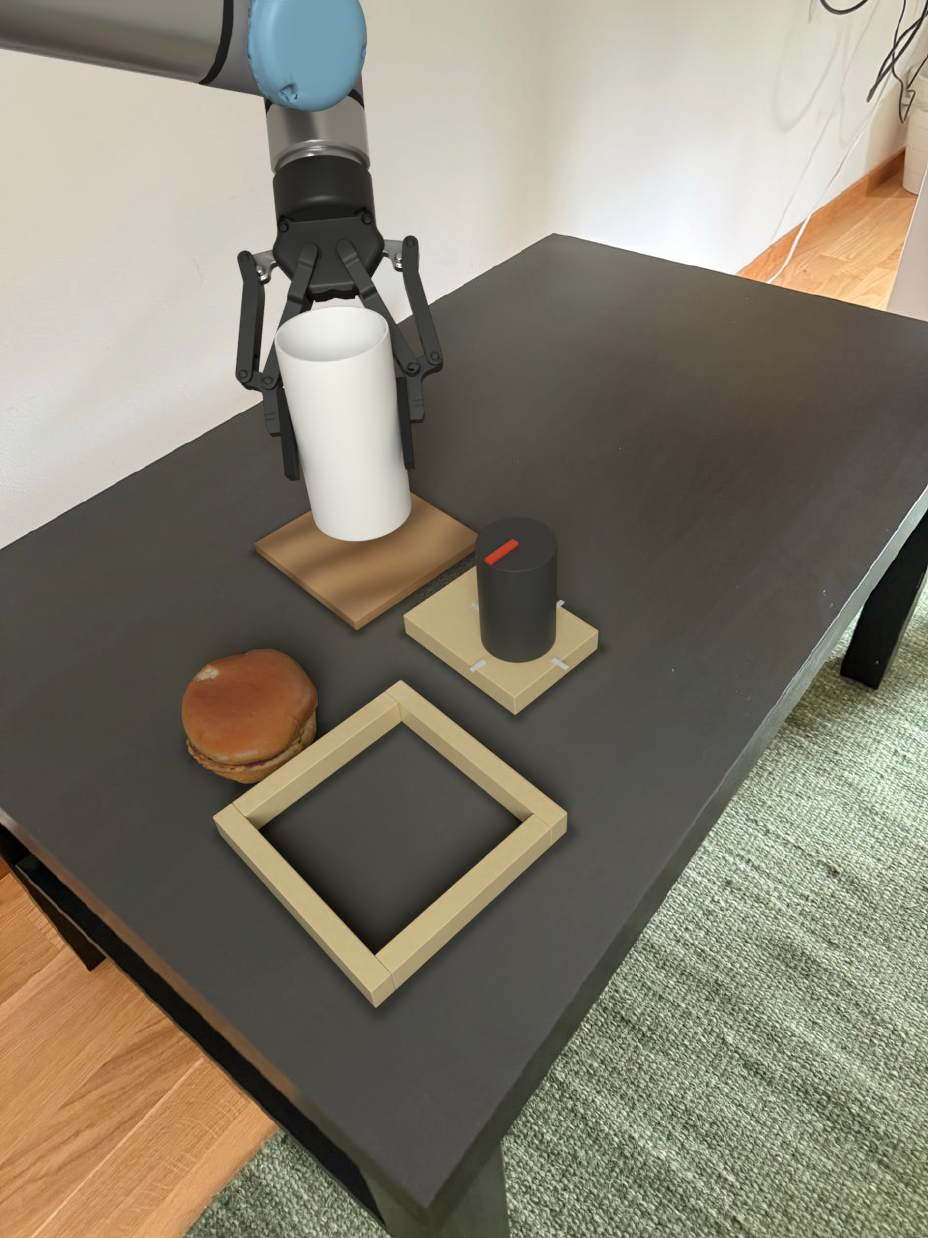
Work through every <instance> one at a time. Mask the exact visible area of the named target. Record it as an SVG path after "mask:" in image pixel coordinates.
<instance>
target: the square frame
mask: <svg viewBox="0 0 928 1238" xmlns="http://www.w3.org/2000/svg"><path fill="white" fill-rule="evenodd" d="M400 723H403V724H404V725H405V726H407V727H408V728H409V729H410V730H412V731H413V732H414V733H415V734H417V736H419V737H420V738H421V739H422V740H424V741H425V742H426V743H427V744H429V745H430V747H432V748H433V749H435V751H437V752H438V753H439V754H440V755H442V757H444V758H445V759H446V760H448V761H449V762H450V763H451V764H452V765H453V766H455V767H456V768H457V769H458V770H460V771H461V772H462V773H463V774H465V776H466V777H468V779H470V780H472V781H473V782H474V783H475V784H476V785H477V786H479V787H480V788H481V789H482V790H483V791H485V792H486V793H487V794H488V795H489V796H491V798H493V799H495V801H496V802H498V803H499V804H500V805H502V807H504V808H505V809H506V810H508V811H509V812H510V813H511V814H512V815H513V816H514V817H516V818H517V819H518V820H519V821H521V822H522V823H520V825H519V826H518V827H517V828H516V829H515V830H513V831H512V832H511V833H510V834H509V835H508V836H507V837H506V838H505V839H503V840H502V841H501V842H500V843H499V844H497V845H496V846H495V847H494V848H493V849H492V850H491V851H490V852H489V853H488V854H486V855H485V856H484V857H483V858H482V859H481V860H480V861H478V863H476V864H475V865H474V866H473V867H472V868H471V869H470V870H469V871H467V873H465V874H464V875H463V876H462V877H460V879H458V880H457V881H456V882H455V883H454V884H452V886H451V887H449V888H448V889H447V890H446V891H445V892H444V893H443V894H441V896H440V897H438V898H437V899H436V900H435V901H434V902H432V904H430V906H428V907H427V908H426V909H424V911H423V912H421V914H419V915H418V916H417V917H416V918H414V920H413V921H412V922H410V923H409V924H408V925H407V926H405V927H404V929H402V930H401V931H400V932H399V933H398V934H396V936H395V937H393V938H392V939H391V940H390V941H389V942H388V943H387V944H386V945H385V946H383V947H382V948H381V949H380V950H378V952H377V953H376V954H374V953H373V952H372V951H371V950H370V949H369V948H368V947H367V946H366V945H365V944H364V942H362V940H360V938H359V937H358V936H357V935H356V934H355V933H354V932H353V931H352V930H351V929H350V928H349V926H347V924H346V923H345V922H344V921H343V920H342V919H341V918H340V917H339V915H337V913H336V912H335V911H333V909H332V908H331V907H330V906H329V905H328V904H327V903H326V902H325V901H324V900H323V899H322V898H321V896H319V894H317V892H316V891H315V890H314V889H313V888H312V887H311V886H310V884H308V882H306V880H305V879H303V877H302V876H301V875H300V874H299V873H298V872H297V871H296V870H295V869H294V868H293V866H291V864H290V863H289V862H288V861H287V860H286V858H284V857H283V856H282V854H281V853H279V851H278V850H277V849H276V848H275V847H274V846H273V845H272V844H271V843H270V842H269V841H268V840H267V839H266V838H265V837H264V836H263V834H261V833H260V831H259V830H260V829H261V828H262V827H264V826H265V825H266V824H268V823H269V822H271V821H272V820H273V819H274V818H276V817H277V816H279V815H280V814H281V813H283V812H284V811H285V810H286V809H288V808H289V807H290V806H291V805H294V803H296V802H297V801H298V800H299V799H301V798H302V797H303V796H305V795H306V794H308V793H309V792H310V791H311V790H313V789H314V788H315V787H317V786H318V785H320V784H322V782H323V781H325V780H326V779H327V778H329V777H330V776H332V775H333V774H334V773H335V772H336V771H338V770H339V769H341V768H342V767H344V766H345V765H346V764H347V763H348V762H350V761H351V760H352V759H354V758H355V757H357V756H358V755H359V754H360V753H363V751H364V750H366V749H367V748H368V747H369V746H371V745H372V744H374V743H376V741H378V740H380V738H382V737H383V736H384V735H386V734H387V733H388V732H390V731H391V730H392V729H394V728H395V727H397V726H398V725H399V724H400ZM212 819H213V822H214V824H215V825H216V828H217V830H218V833H219V835H220V836H221V837H222V838H223V839H224V841H225V842H226V843H227V844H228V845H229V846H230V847H231V848H232V850H233V851H234V852H235V853H236V854H237V855H238V856H239V857H240V858H241V859H242V861H243V863H245V864H246V865H247V866H248V867H249V869H250V870H251V871H252V872H253V873H254V874H255V876H256V877H258V879H259V880H260V881H261V882H262V883H263V884H264V885H265V887H266V888H267V889H268V890H269V891H270V892H271V893H272V894H273V895H274V897H275V898H276V899H277V900H278V901H279V902H280V904H282V906H283V907H284V908H285V909H286V910H287V911H288V912H289V913H290V915H292V917H293V918H294V919H295V920H296V921H297V922H298V924H300V926H301V927H302V928H303V929H304V930H305V931H306V932H307V934H309V936H310V937H311V938H312V939H313V940H314V941H315V942H316V943H317V944H318V946H319V947H320V948H321V949H322V950H323V952H324V953H325V954H327V956H328V957H329V958H330V959H331V961H332V962H333V963H334V964H335V965H336V966H337V967H338V968H339V969H340V970H341V971H342V972H343V973H344V975H345V976H346V977H347V978H348V979H349V981H351V983H352V984H353V985H354V986H355V987H356V988H357V989H358V990H359V992H361V994H362V995H363V996H364V997H365V998H366V999H367V1001H369V1003H370V1004H371V1005H372V1006H373V1007H374V1008H378V1007H379V1006H380V1005H381V1004H382V1003H384V1001H385V1000H386V999H388V997H390V996H391V994H393V993H394V992H395V991H396V990H398V989H399V988H400V987H401V985H403V984H404V983H405V982H406V981H407V980H409V978H411V976H412V975H414V974H415V973H416V972H417V971H418V970H419V969H420V968H421V967H422V966H423V965H424V964H426V963H427V961H429V960H430V959H431V958H432V957H433V956H434V955H435V954H437V953H438V951H440V950H441V949H442V948H443V947H444V946H445V945H446V944H447V943H448V942H449V941H450V940H451V939H452V938H454V936H456V935H457V934H458V933H459V932H460V931H461V930H462V929H463V928H464V927H465V926H466V925H468V923H470V922H471V921H472V920H473V919H474V918H475V917H476V916H477V915H478V914H480V913H481V911H483V910H484V909H485V908H486V907H487V906H488V905H489V904H490V903H491V902H492V901H494V900H495V899H496V898H497V897H498V896H499V895H500V894H501V893H503V891H504V890H506V888H507V887H509V885H511V884H512V883H513V882H514V881H515V880H516V879H518V877H519V876H520V875H522V873H524V872H525V871H526V870H527V869H528V868H529V867H530V866H532V864H534V862H535V861H536V860H538V859H539V858H540V857H541V856H542V855H543V854H544V853H545V852H546V851H548V849H550V847H551V846H553V845H554V844H556V842H557V841H558V840H559V839H560V838H561V837H563V836H564V835H565V833H567V832H568V830H567V829H568V812H567V811H566V810H565V809H564V808H563V807H561V806H560V805H559V804H557V803H556V802H554V800H552V799H551V798H550V797H548V796H547V795H546V794H545V793H544V792H542V791H541V790H539V788H537V787H536V786H535V785H534V784H532V783H531V782H530V781H528V780H527V779H526V778H525V777H523V776H522V775H521V774H520V773H519V772H517V771H516V770H514V768H512V767H511V766H510V765H508V764H507V763H506V762H505V761H503V760H502V759H501V758H500V757H499V756H497V755H496V754H495V753H494V752H492V751H491V750H489V749H488V748H487V747H486V746H485V745H483V744H482V743H481V742H480V741H479V740H478V739H476V738H475V737H473V736H472V735H471V734H469V733H468V732H467V731H466V730H464V729H463V728H462V727H461V726H460V725H459V724H457V723H456V722H455V721H453V720H452V719H451V718H450V717H448V716H447V715H445V713H443V712H442V711H441V710H440V709H438V708H437V707H436V706H435V705H434V704H432V703H431V702H430V701H428V700H427V699H426V698H424V697H423V696H422V695H421V694H419V692H417V691H416V690H415V689H413V688H412V687H411V686H410V685H408V684H407V683H406V682H405V681H403V680H402V679H400V680H398V681H397V682H395V683H394V684H393V685H392V686H390V687H388V688H387V689H386V690H385V691H383V692H381V693H380V694H379V695H378V696H376V697H375V698H374V699H372V700H371V701H370V702H368V703H367V704H365V705H364V706H363V707H362V708H360V709H358V710H357V711H356V712H355V713H353V714H351V715H350V716H349V717H347V718H346V719H345V720H343V721H342V722H341V723H339V724H338V725H337V726H335V727H334V728H332V729H331V730H330V731H329V732H327V733H326V734H324V735H322V737H320V738H319V739H317V740H316V741H315V742H312V744H311V745H310V746H309V747H308V748H306V749H305V750H304V751H302V752H301V753H300V754H298V755H297V756H295V757H294V758H293V759H291V760H290V761H289V762H287V763H286V764H284V765H283V766H282V767H280V768H279V769H278V770H276V771H275V772H273V773H272V774H271V775H269V776H268V777H267V778H265V779H264V780H262V781H259V782H257V784H255V785H254V786H253V787H251V788H250V789H249V790H247V791H246V792H245V793H243V794H242V795H240V796H239V797H238V798H236V799H235V800H234V801H232V803H229V804H228V805H226V807H224V808H222V809H221V810H220V811H218V812H217V813H216V814H214V815H213V816H212Z"/></svg>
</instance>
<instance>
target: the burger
mask: <svg viewBox="0 0 928 1238" xmlns="http://www.w3.org/2000/svg"><path fill="white" fill-rule="evenodd" d="M318 704H319V697H318V690H317V688H316V686H315V684H314V683H313V681H312V680H311V678H310V676H309V675H308V674H307V672H306V671H305V670H304V668H303V667H302V666H301V665H300V664H299V663H298V662H297V661H296V659H293V658H292V657H291V656H290V655H288V654H286V653H284V652H282V651H279V650H276V649H273V648H258V649H252V650H248V651H247V652H246V653H242V654H241V653H240V654H233V655H232V654H231V655H228V656H225V657H220V658H217V659H215V660H212V661H211V662H209V663H207V664H206V665H205V666H203V667H202V668H201V670H200V671H199V672H197V673H196V674H195V676H194V677H193V678H192V679H191V681H189V683H188V685H187V687H186V690H185V691H184V694H183V696H182V701H181V721H182V726H183V729H184V732H185V734H186V736H187V739H186V742H185V743H186V745H187V752H188V753H189V754H190V755H191V756H192V757H193V758H194V759H195V760H196V761H197V764H201V765H202V767H203V768H206V769H207V770H210V771H212V772H213V773H214V774H215V775H218V776H221V777H223V778H225V779H228V780H234V781H237V782H238V783H240V784H255V783H260V782H261V781H262V780H264V779H265V778H267V777H268V776H269V775H271V774H272V773H273V772H275V771H276V770H278V769H279V768H280V767H282V766H283V765H284V764H286V763H287V762H289V761H290V760H291V759H293V758H294V757H295V756H297V755H298V754H300V753H301V752H302V751H304V750H305V749H306V748H308V747H309V746H311V745H312V744H313V743H314V740H315V738H316V735H317V710H316V708H318V707H317V706H318Z"/></svg>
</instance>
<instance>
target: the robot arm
mask: <svg viewBox="0 0 928 1238" xmlns="http://www.w3.org/2000/svg"><path fill="white" fill-rule="evenodd" d="M367 46H368V30H367V23H366V18H365V13H364V10H363V6H362V4H361V2H360V0H0V50H2V51H3V50H4V51H9V52H15V53H21V54H22V53H23V54H25V55H26V54H27V55H31V56H38V57H42V58H43V57H44V58H48V59H50V58H51V59H55V60H61V61H66V62H73V63H79V64H84V65H90V66H96V67H101V68H107V69H112V70H119V71H123V72H124V71H125V72H130V73H136V74H141V75H146V76H151V77H152V76H153V77H158V78H163V79H170V80H174V81H175V80H176V81H181V82H185V83H192V84H196V85H197V84H198V85H199V86H203V87H209V88H212V89H213V88H214V89H219V90H223V91H229V92H236V93H241V94H246V95H252V96H256V97H260V98H263V105H264V111H265V123H266V132H267V142H268V143H267V144H268V152H269V163H270V169H271V172H272V174H273V178H272V191H273V203H274V212H275V222H276V223H275V225H276V237H275V241H274V243H273V245H272V249H269V250H265V251H261V252H257V253H253V254H252V252H251V251H249V250H245V249H244V250H241V251H240V252H238V254H237V256H236V260H237V264H238V268H239V272H240V275H241V279H242V288H241V289H242V291H241V302H240V314H239V324H238V335H237V336H238V337H237V349H236V359H235V360H236V361H235V370H234V371H235V372H234V374H235V375H234V376H235V378H236V381H238V382H239V383H240V385H241V386H242V387H243V389H245V390H247V391H255V392H258V393H261V394H262V402H263V414H264V423H265V429H266V431H267V432H268V434H269V435H270V436H271V437H272V438H277V437H280V443H281V452H282V453H281V454H282V463H283V473H284V476H285V477H286V478H287V479H288V480H289V481H290V482H294V481H301V469H300V458H299V452H298V447H297V443H296V438H295V434H294V429H293V425H292V421H291V416H290V412H289V407H288V403H287V398H286V394H285V389H284V385H283V381H282V376H281V372H280V367H279V363H278V358H277V354H276V349H275V342H274V339H275V335H276V332H277V331H278V329H279V328H280V327H281V326H282V325H283V324H284V323H285V322H287V321H288V320H290V319H291V318H293V317H295V316H297V315H299V314H302V313H304V312H307V311H310V310H312V308H313V305H314V303H317V304H318V303H326V302H329V301H332V300H333V299H337V300H338V299H339V300H344V301H349V300H356V297H358V299H359V301H360V303H361V304H362V306H363V308H367V309H370V310H373V311H375V312H377V313H379V314H380V315H381V316H383V317H384V318H385V320H386V321H387V324H388V327H389V332H390V340H391V347H392V355H393V360H394V361H395V362H396V364H397V366H398V367H399V369H400V372H402V374H403V376H397V377H396V376H395V378H396V389H397V400H398V410H399V420H400V430H401V440H402V450H403V460H404V466H405V469H406V470H407V471H409V470H416V463H415V453H414V442H413V433H412V431H413V430H412V425H414V424H424V422H425V417H426V412H425V404H424V403H425V402H424V394H423V392H424V391H423V383H424V382H423V381H424V380H425V378H427V377H428V376H430V375H433V374H437V373H440V372H441V371H442V370H443V367H444V356H443V351H442V347H441V344H440V340H439V338H438V337H439V336H438V334H437V330H436V326H435V323H434V320H433V316H432V313H431V309H430V306H429V303H428V300H427V299H428V298H427V296H426V292H425V289H424V286H423V282H422V279H421V274H420V272H419V270H420V257H421V256H420V244H419V240H418V238H417V237H416V236H415V235H412V234H410V235H407V236H405V237H404V238H403V239H402V240H400V239H399V240H398V239H386V238H384V236H383V235H382V233H381V232H380V230H379V229H378V225H377V216H376V207H375V206H376V205H375V196H374V185H373V177H372V174H371V172H370V171H369V169H370V168H371V158H370V157H371V156H370V147H369V135H368V124H367V116H366V115H367V114H366V109H365V98H364V87H363V85H364V84H363V74H362V73H363V72H362V71H363V68H364V65H365V59H366V55H367ZM384 258H387V259H389V260H390V262H391V265H392V268H393V270H394V271H396V272H397V273H401V274H402V280H403V285H404V290H405V293H406V296H407V300H408V303H409V307H410V310H411V313H412V317H413V321H414V324H415V328H416V331H417V335H418V337H419V341H420V345H421V348H422V353H423V355H420V356H418V357H416V356H415V354H414V352H413V350H412V349H411V347H410V345H409V344H408V342H407V340H406V338H405V337H404V335H403V333H402V332H401V330H400V328H399V326H398V324H397V322H396V321H395V319H394V318H393V316H392V314H391V312H390V310H389V309H388V307H387V305H386V304H385V302H384V300H383V299H382V296H381V295H380V293H379V291H378V289H377V287H376V285H375V283H374V281H373V279H372V278H373V277H374V275H375V273H376V271H377V269H378V268H379V266H380V265H381V263H382V261H383V259H384ZM277 267H278V268H279V269H280V270H281V271H282V273H283V274H284V275H285V276H286V277H287V278H288V279H289V281H290V284H289V288H288V291H287V294H286V302H285V305H284V308H283V310H282V314H281V317H280V319H279V322H278V325H277V329H276V331H275V334H274V337H273V340H272V343H271V346H270V349H269V352H268V354H267V358H266V361H265V365H264V367H263V370H262V371H260V365H261V355H262V354H261V353H262V352H261V351H262V344H263V343H262V342H263V341H262V340H263V330H264V329H263V328H264V320H265V319H264V318H265V306H266V289H265V288H266V287H265V285H268V284H269V283H270V282H271V280H272V272H273V271H274V269H275V268H277Z"/></svg>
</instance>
